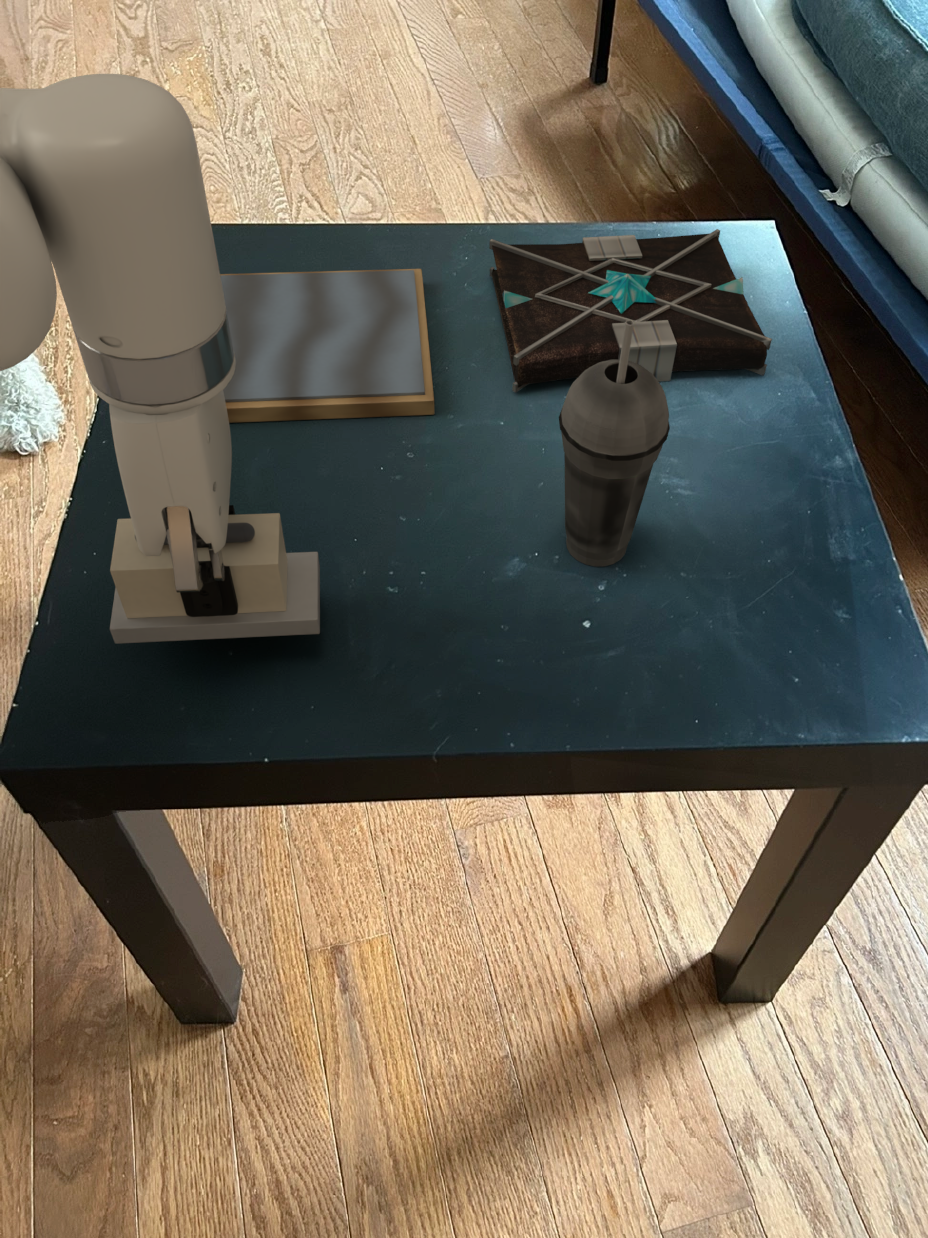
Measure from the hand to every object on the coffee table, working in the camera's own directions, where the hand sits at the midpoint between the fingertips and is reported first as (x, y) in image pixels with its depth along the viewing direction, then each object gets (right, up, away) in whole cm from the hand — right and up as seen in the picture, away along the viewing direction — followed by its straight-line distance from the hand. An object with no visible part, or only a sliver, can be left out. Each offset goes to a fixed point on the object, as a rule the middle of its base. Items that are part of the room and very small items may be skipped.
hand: (214, 580), depth 71 cm
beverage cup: (+25, +3, +10) cm, 28 cm away
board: (+2, +22, +22) cm, 31 cm away
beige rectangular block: (0, -1, +2) cm, 2 cm away
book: (+29, +25, +26) cm, 46 cm away
